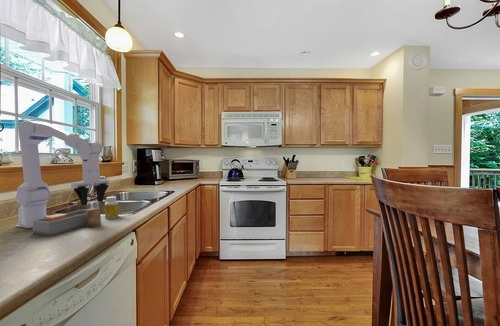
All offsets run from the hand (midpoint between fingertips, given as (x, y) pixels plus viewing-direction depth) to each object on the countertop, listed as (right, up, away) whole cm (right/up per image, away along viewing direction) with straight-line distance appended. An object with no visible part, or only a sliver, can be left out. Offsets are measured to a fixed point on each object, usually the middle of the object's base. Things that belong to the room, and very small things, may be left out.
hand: (92, 203), depth 92 cm
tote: (-9, -10, -1) cm, 13 cm away
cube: (-11, -9, -5) cm, 15 cm away
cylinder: (0, -10, 0) cm, 10 cm away
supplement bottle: (0, -9, +13) cm, 16 cm away
